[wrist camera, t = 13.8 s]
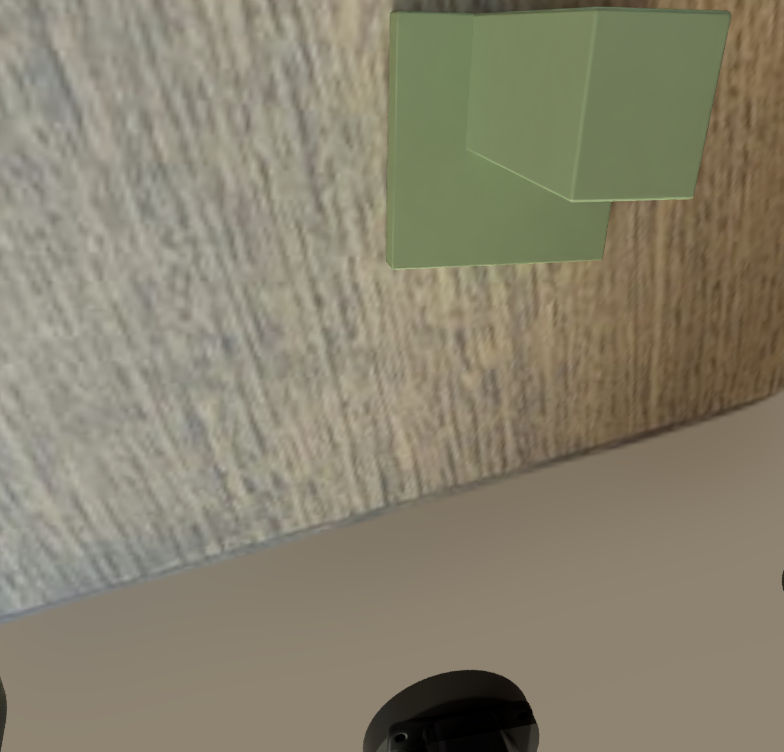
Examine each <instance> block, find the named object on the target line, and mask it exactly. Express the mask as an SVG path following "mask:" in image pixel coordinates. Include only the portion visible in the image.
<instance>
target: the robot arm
mask: <svg viewBox="0 0 784 752" xmlns="http://www.w3.org/2000/svg"><path fill="white" fill-rule="evenodd" d="M782 586H783V590H784V571H783V575H782ZM6 714H7V701H6V694H5V691H4V688H3V685H2V681H1V678H0V751H1V746H2V740H3V734H4V728H5V723H6ZM532 718H533V711H532V708H531V706H530V704H529V703H528V702H527V701H525V700H520V701H514V702H509V703H503V704H497V705H492V706H486V707H480V708H475V709H469V710H463V711H458V712H452V713H446V714H440V715H435V716H429V717H423V718H418V719H412V720H406V721H401V722H397V723H394V724H392V725H391V726H390V727H389V728H388V730H387V746H386V752H527V749H528V743H529V737H530V730H531V724H532Z"/></svg>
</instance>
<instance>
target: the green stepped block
mask: <svg viewBox="0 0 784 752" xmlns="http://www.w3.org/2000/svg"><path fill="white" fill-rule="evenodd" d="M730 20H731V13H730V12H729V11H720V10H688V9H656V8H625V7H583V8H565V9H547V10H528V11H510V12H492V13H447V12H412V11H395V12H391V13H390V52H389V110H388V169H387V228H386V261H387V263H388V264H389V266H390V267H391V269H393V270H397V269H419V268H441V267H462V266H484V265H506V264H528V263H550V262H571V261H593V260H602V259H603V253H604V247H605V240H606V234H607V228H608V221H609V215H610V208H611V202H612V201H640V200H676V199H691V198H693V196H694V193H695V188H696V183H697V178H698V173H699V169H700V164H701V159H702V154H703V149H704V145H705V140H706V135H707V130H708V125H709V121H710V116H711V111H712V106H713V101H714V97H715V92H716V87H717V82H718V77H719V73H720V68H721V63H722V58H723V53H724V49H725V44H726V39H727V34H728V29H729V25H730Z"/></svg>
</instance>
